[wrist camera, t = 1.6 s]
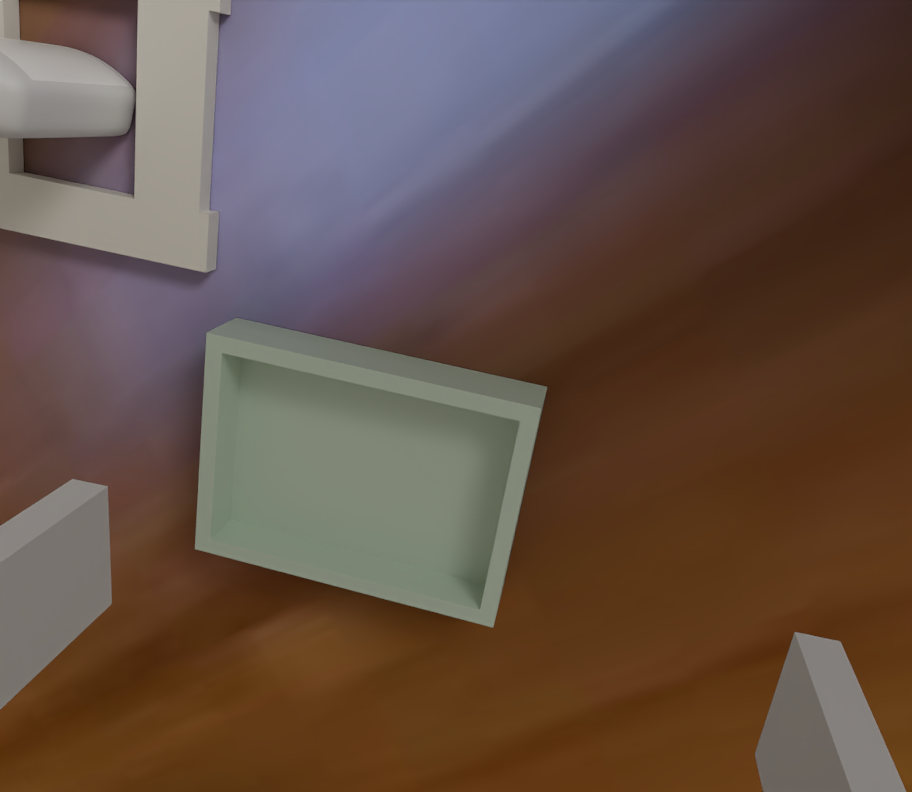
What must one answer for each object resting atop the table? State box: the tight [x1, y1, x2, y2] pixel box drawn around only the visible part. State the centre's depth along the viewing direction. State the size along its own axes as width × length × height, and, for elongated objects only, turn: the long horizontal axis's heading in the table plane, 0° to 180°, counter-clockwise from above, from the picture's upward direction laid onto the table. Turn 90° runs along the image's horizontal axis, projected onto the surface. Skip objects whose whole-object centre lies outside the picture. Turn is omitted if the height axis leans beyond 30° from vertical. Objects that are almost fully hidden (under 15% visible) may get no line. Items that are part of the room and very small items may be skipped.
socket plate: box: [0, 0, 231, 273], centre depth 36 cm, size 14×14×1 cm
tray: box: [195, 318, 547, 627], centre depth 38 cm, size 12×16×3 cm
